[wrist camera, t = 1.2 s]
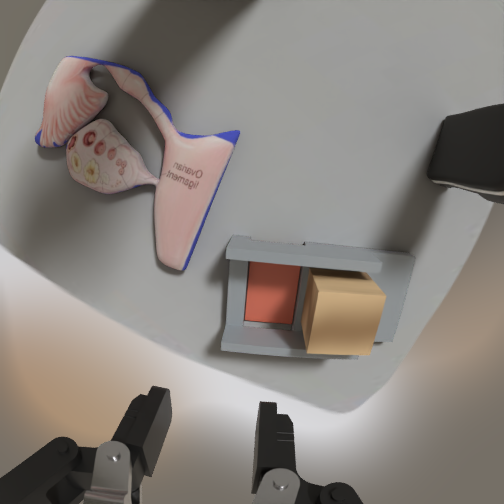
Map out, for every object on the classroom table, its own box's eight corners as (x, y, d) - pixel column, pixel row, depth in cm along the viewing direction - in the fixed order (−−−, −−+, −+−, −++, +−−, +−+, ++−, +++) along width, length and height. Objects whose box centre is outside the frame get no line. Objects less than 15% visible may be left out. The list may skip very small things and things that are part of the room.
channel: (233, 235, 25) (226, 247, 21) (409, 253, 25) (430, 267, 21) (227, 325, 28) (220, 350, 24) (388, 335, 27) (403, 358, 23)
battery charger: (452, 197, 23) (537, 220, 12) (423, 178, 23) (508, 191, 12) (472, 133, 21) (556, 130, 10) (444, 113, 21) (528, 95, 10)
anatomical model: (188, 267, 27) (255, 109, 23) (180, 278, 24) (254, 102, 20) (28, 190, 26) (72, 57, 22) (11, 194, 23) (56, 50, 19)
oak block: (309, 267, 25) (318, 291, 20) (366, 272, 24) (386, 296, 20) (300, 321, 26) (306, 353, 21) (354, 324, 26) (369, 355, 21)
